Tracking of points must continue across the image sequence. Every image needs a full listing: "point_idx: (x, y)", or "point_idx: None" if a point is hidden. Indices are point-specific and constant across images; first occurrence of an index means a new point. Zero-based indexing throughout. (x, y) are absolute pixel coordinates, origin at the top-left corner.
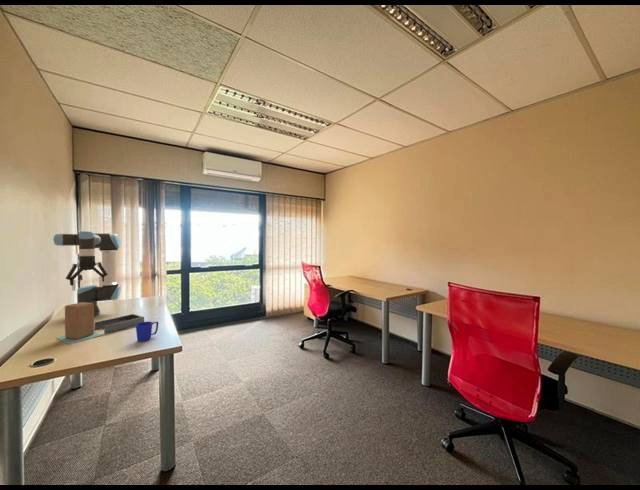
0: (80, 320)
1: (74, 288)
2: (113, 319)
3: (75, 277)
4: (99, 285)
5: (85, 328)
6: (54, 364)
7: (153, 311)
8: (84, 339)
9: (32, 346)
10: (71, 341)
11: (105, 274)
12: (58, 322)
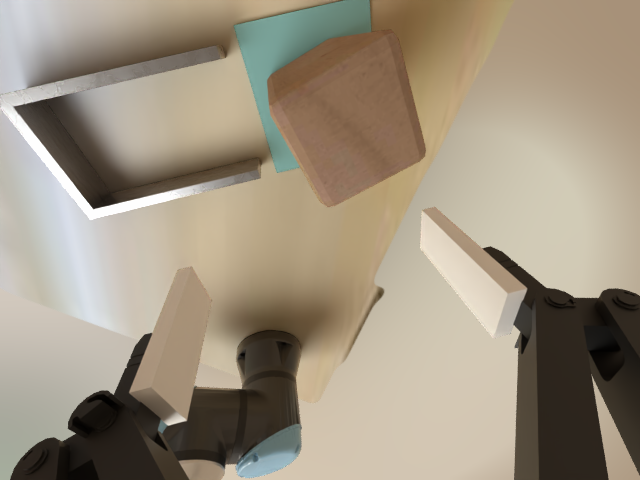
0: (340, 40)
1: (442, 221)
2: (182, 186)
3: (539, 333)
4: (206, 306)
5: (305, 56)
6: None
7: (31, 293)
8: (308, 12)
9: (448, 101)
10: (354, 30)
11: (48, 465)
12: (337, 322)
